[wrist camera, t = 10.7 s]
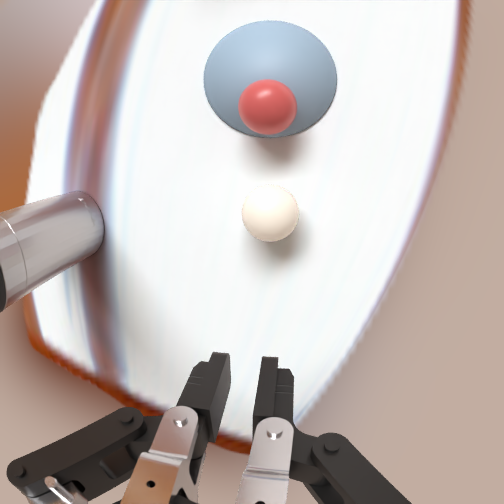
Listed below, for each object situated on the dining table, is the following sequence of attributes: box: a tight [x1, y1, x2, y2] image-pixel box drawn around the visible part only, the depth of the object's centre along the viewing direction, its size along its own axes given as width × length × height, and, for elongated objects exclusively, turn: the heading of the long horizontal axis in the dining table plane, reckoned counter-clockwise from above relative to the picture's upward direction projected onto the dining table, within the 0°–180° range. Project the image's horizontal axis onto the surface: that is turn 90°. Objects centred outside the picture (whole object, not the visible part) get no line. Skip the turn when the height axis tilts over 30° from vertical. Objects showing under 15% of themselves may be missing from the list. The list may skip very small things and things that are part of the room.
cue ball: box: [242, 185, 299, 242], centre depth 28 cm, size 6×6×6 cm
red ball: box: [238, 79, 297, 135], centre depth 24 cm, size 6×6×6 cm
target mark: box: [204, 21, 337, 138], centre depth 25 cm, size 14×14×1 cm
